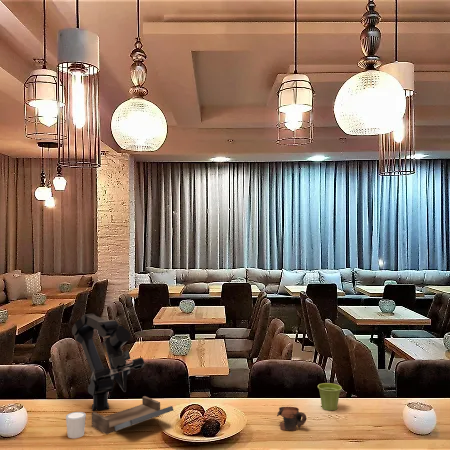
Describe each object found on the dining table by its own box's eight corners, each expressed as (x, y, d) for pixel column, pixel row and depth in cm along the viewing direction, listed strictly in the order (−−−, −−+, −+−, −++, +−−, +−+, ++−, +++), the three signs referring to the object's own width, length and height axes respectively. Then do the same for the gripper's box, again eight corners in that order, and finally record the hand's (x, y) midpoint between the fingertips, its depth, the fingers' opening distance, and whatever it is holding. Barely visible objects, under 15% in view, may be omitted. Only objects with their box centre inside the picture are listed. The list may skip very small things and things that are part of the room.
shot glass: (80, 439, 171) (80, 419, 171) (61, 438, 172) (61, 418, 172) (89, 431, 178) (89, 412, 177) (71, 430, 179) (71, 410, 179)
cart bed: (91, 426, 182) (91, 412, 182) (144, 408, 199) (144, 396, 199) (106, 434, 175) (106, 420, 175) (160, 415, 192) (160, 402, 192)
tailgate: (114, 426, 177) (131, 419, 170) (154, 412, 190) (172, 405, 182) (115, 431, 177) (132, 424, 169) (155, 416, 189) (173, 410, 182)
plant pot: (323, 402, 206) (323, 381, 206) (345, 407, 200) (345, 385, 200) (313, 409, 198) (313, 387, 198) (335, 414, 192) (335, 392, 192)
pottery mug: (272, 430, 180) (272, 406, 184) (285, 433, 186) (284, 410, 190) (301, 429, 173) (301, 404, 177) (313, 432, 180) (313, 409, 184)
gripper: (89, 353, 180) (100, 395, 174) (139, 338, 187) (151, 379, 180) (90, 361, 190) (99, 401, 183) (137, 347, 196) (148, 385, 190)
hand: (125, 391), depth 184 cm, fingers closed
